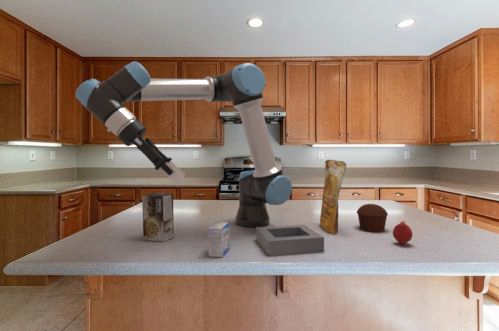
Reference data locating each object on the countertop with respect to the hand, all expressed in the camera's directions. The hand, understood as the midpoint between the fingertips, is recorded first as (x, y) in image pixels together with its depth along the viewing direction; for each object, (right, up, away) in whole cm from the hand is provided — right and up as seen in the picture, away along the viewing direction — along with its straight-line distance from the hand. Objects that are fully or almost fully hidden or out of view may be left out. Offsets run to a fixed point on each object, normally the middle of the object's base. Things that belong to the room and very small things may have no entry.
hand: (181, 180), depth 82 cm
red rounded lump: (+71, -22, +11) cm, 76 cm away
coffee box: (-13, -22, +18) cm, 31 cm away
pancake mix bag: (+53, -22, +31) cm, 65 cm away
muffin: (+70, -22, +30) cm, 79 cm away
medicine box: (+11, -23, +3) cm, 25 cm away
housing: (+33, -22, +10) cm, 41 cm away
